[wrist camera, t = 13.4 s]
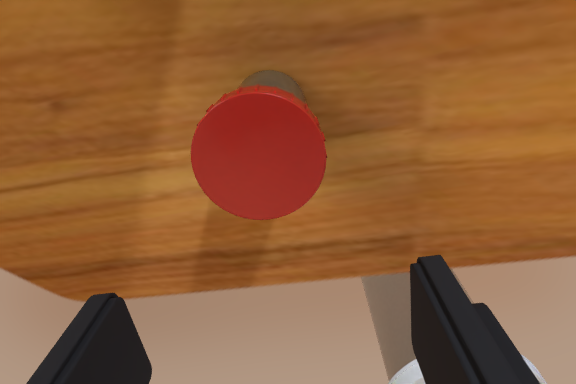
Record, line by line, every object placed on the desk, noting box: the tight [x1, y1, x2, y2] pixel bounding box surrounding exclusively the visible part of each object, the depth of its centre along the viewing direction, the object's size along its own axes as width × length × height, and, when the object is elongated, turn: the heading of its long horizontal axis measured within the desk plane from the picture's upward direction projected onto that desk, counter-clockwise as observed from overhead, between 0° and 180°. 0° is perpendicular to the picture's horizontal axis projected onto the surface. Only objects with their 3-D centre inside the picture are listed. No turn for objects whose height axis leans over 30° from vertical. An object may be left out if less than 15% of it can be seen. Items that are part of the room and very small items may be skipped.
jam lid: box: [191, 84, 327, 220], centre depth 19 cm, size 7×7×2 cm
